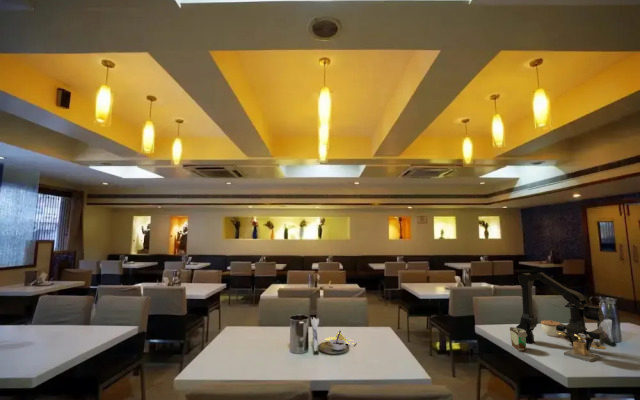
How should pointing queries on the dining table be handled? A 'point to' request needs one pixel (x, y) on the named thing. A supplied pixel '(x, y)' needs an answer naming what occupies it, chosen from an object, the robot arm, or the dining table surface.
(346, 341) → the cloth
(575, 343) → the oak block
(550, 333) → the lidded jar
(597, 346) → the brass balance
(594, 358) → the grey stone square slab
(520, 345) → the food container
